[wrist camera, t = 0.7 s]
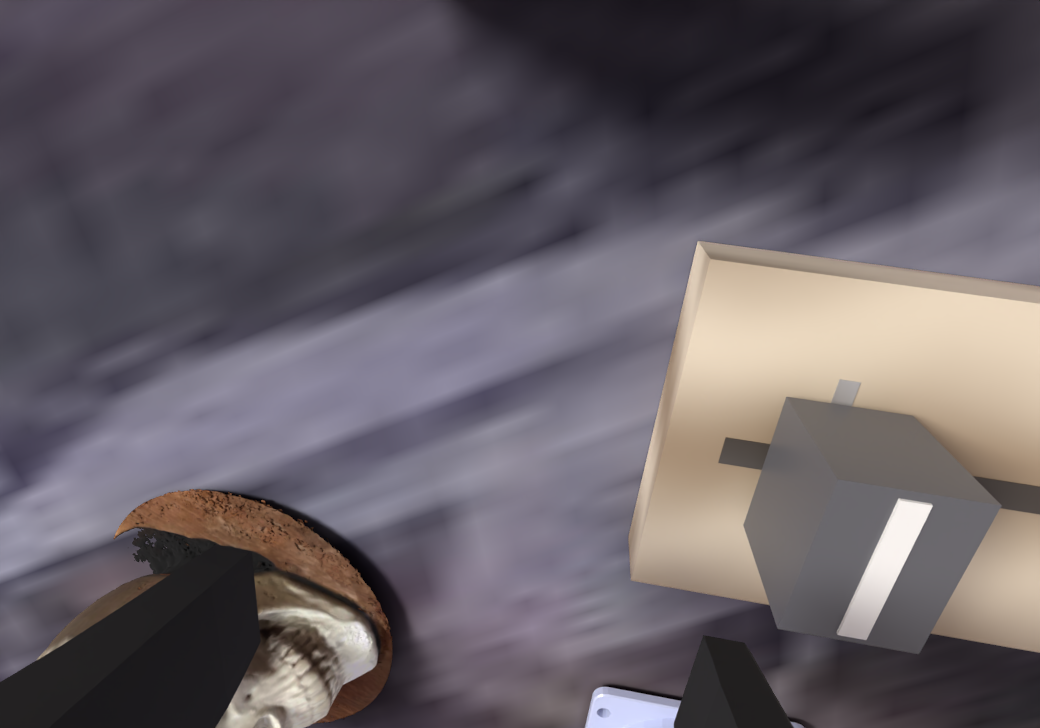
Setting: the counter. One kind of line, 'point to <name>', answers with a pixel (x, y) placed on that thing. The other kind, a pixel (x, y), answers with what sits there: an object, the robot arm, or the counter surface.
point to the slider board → (852, 382)
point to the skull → (269, 607)
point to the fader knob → (862, 524)
